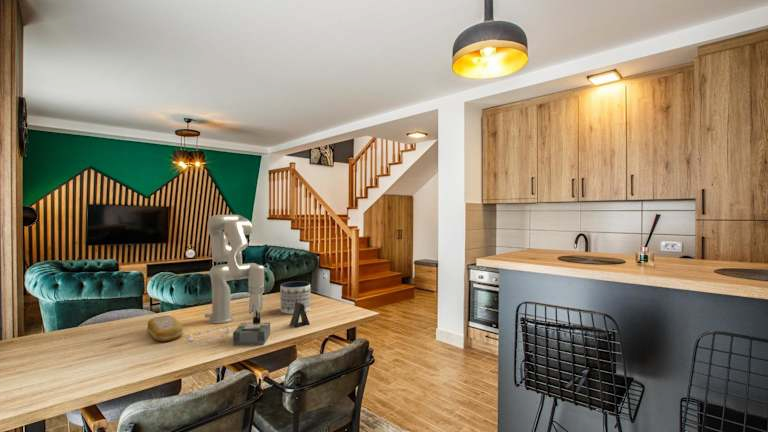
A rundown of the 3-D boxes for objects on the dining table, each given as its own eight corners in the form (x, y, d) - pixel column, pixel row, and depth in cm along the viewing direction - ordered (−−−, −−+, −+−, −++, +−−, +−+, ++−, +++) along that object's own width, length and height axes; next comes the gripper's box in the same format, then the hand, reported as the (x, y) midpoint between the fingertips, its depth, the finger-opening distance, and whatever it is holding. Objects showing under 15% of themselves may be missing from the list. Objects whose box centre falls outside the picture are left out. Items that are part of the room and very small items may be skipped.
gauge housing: (233, 345, 170) (233, 332, 170) (241, 335, 184) (241, 323, 184) (264, 344, 172) (264, 331, 172) (270, 334, 186) (270, 322, 185)
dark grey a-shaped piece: (294, 327, 196) (293, 305, 196) (289, 324, 201) (289, 303, 200) (309, 324, 201) (309, 302, 201) (305, 321, 206) (305, 300, 206)
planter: (283, 306, 237) (283, 281, 237) (311, 306, 239) (311, 281, 239) (278, 315, 219) (278, 287, 219) (309, 314, 221) (309, 287, 221)
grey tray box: (236, 338, 175) (235, 327, 175) (241, 332, 183) (241, 321, 183) (266, 337, 176) (266, 326, 176) (269, 331, 185) (269, 321, 185)
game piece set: (229, 329, 195) (229, 321, 195) (231, 341, 177) (231, 333, 177) (188, 334, 186) (188, 326, 186) (186, 347, 168) (186, 339, 168)
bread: (170, 326, 199) (170, 311, 198) (188, 338, 180) (188, 322, 180) (142, 332, 189) (141, 316, 189) (158, 345, 171) (157, 328, 170)
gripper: (252, 286, 193) (252, 321, 193) (244, 293, 178) (245, 330, 178) (267, 286, 194) (267, 320, 194) (260, 292, 179) (261, 330, 179)
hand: (256, 325), depth 186 cm, fingers closed
